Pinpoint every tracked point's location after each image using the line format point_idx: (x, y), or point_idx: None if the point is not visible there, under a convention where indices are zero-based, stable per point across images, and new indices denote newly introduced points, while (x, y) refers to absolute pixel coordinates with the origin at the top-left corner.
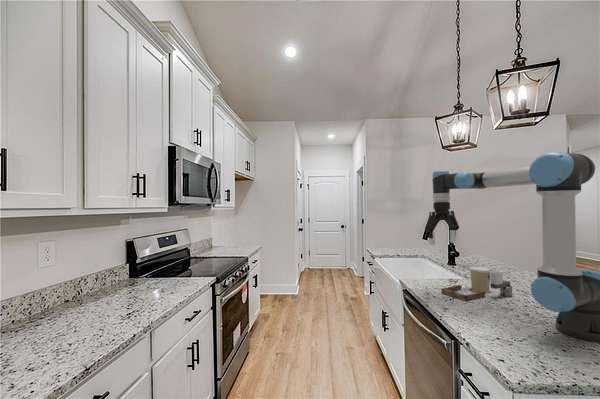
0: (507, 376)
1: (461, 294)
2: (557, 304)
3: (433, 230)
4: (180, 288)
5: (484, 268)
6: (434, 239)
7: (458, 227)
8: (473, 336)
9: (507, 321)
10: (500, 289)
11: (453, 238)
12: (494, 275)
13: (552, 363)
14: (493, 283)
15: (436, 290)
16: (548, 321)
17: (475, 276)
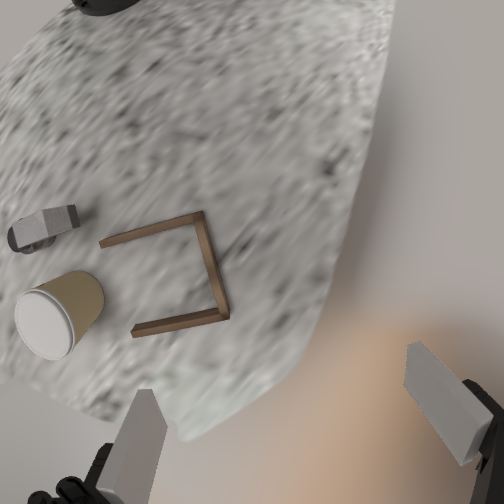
0: None
1: (203, 236)
2: None
3: (498, 430)
4: None
5: (23, 326)
6: (439, 371)
7: (39, 500)
8: (375, 11)
9: (220, 38)
10: (44, 240)
11: (144, 428)
12: (48, 216)
13: None
14: (68, 217)
15: (225, 345)
16: (117, 28)
17: (78, 308)
